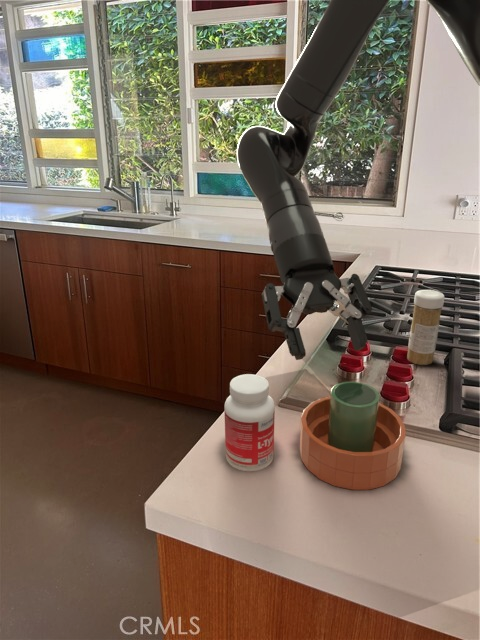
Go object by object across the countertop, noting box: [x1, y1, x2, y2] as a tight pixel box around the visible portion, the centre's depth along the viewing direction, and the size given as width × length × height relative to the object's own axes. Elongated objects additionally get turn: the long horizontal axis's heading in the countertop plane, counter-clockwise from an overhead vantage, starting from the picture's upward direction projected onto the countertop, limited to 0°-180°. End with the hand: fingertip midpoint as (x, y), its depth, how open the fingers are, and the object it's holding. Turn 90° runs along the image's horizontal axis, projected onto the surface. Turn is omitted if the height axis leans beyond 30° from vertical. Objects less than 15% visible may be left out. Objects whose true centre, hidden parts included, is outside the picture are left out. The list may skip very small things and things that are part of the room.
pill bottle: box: [223, 373, 276, 472], centre depth 57 cm, size 6×6×11 cm
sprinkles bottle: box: [406, 289, 445, 366], centre depth 79 cm, size 5×5×14 cm
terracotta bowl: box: [299, 396, 406, 491], centre depth 58 cm, size 12×12×6 cm
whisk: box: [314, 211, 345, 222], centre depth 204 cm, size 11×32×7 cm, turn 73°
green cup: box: [327, 381, 381, 452], centre depth 57 cm, size 6×6×9 cm
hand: (331, 353), depth 60 cm, fingers open, 8 cm apart
